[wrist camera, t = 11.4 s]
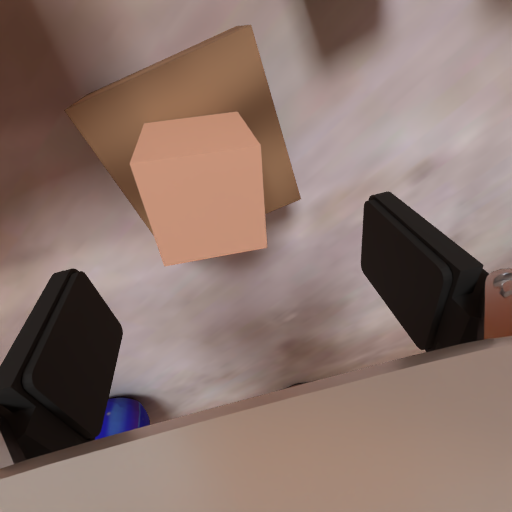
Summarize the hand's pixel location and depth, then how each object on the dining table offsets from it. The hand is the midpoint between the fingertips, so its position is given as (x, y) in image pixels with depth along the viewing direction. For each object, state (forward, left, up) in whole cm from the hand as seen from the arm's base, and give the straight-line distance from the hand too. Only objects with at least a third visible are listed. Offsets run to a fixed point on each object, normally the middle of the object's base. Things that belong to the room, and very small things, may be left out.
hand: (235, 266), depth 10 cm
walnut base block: (0, 0, -15) cm, 15 cm away
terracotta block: (0, +1, -10) cm, 10 cm away
